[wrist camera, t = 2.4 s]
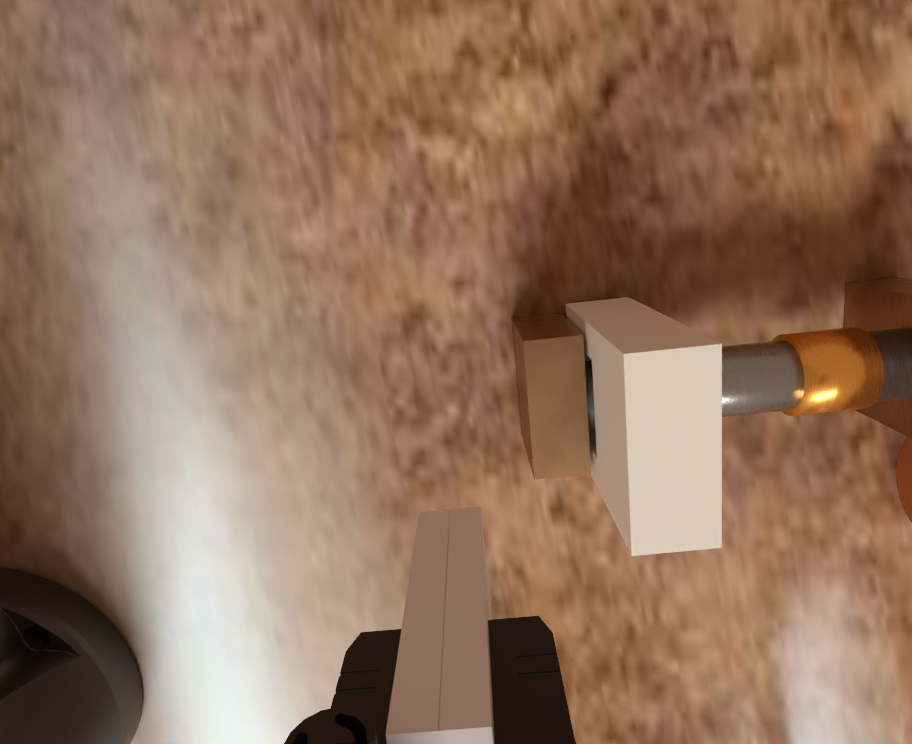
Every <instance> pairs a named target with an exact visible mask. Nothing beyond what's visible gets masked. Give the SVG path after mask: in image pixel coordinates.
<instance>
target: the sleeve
mask: <svg viewBox="0 0 912 744" xmlns="http://www.w3.org/2000/svg"><path fill="white" fill-rule="evenodd" d="M566 318H567V319H568V320H569V321H570V322H571V323H572V324H573V325H574V326H575V327H576V328H577V329H578V330H579V331H580V332H581V333H582V334H583V338H584V356H585V361H586V360H592V373H593V392H594V411H595V429H594V430H589V445H590V463H591V476H592V478H593V480H594V482H595V484H596V486H597V488H598V490H599V492H600V494H601V496H602V498H603V500H604V502H605V504H606V506H607V508H608V510H609V512H610V514H611V516H612V518H613V520H614V522H615V524H616V526H617V528H618V530H619V532H620V534H621V536H622V538H623V540H624V542H625V544H626V546H627V548H628V550H629V552H630V554H631V556H637V555H648V554H659V553H669V552H680V551H691V550H702V549H712V548H722V344H721V343H719V342H717V341H715V340H713V339H711V338H709V337H707V336H705V335H703V334H701V333H699V332H697V331H695V330H693V329H691V328H689V327H687V326H685V325H683V324H681V323H679V322H677V321H675V320H673V319H671V318H669V317H667V316H665V315H664V314H662V313H660V312H658V311H656V310H654V309H652V308H650V307H648V306H646V305H644V304H642V303H640V302H638V301H636V300H634V299H632V298H630V297H625V298H616V299H606V300H597V301H588V302H578V303H569V304H566Z"/></svg>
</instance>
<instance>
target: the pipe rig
mask: <svg viewBox="0 0 912 744" xmlns="http://www.w3.org/2000/svg"><path fill="white" fill-rule="evenodd" d="M512 329H513V340H514V352H515V364H516V375H517V387H518V399H519V410H520V422H521V434H522V437H523V441H524V444H525V448H526V452H527V455H528V459H529V462H530V466H531V469H532V473H533V476H534V479H544V478H554V477H565V476H575V475H585V474H591V463H590V445H589V430H594V429H595V411H594V392H593V373H592V360H586V361H585V356H584V338H583V334H582V333H581V332H580V331H579V330H578V329H577V328H576V327H575V326H574V325H573V324H572V323H571V322H570V321H569V320H568V319H567V318H566V317H565V316H564V315H563V314H562V313H555V314H546V315H537V316H527V317H518V318H512ZM845 410H856V411H858V412H860V413H862V414H864V415H866V416H868V417H870V418H872V419H874V420H876V421H878V422H880V423H882V424H884V425H886V426H888V427H890V428H892V429H894V430H896V431H898V432H900V433H902V434H904V435H906V436H908V437H910V438H912V280H910V279H904V278H887V279H878V280H868V281H859V282H849V283H846V288H845V307H844V326H843V328H840V329H830V330H821V331H811V332H801V333H792V334H782V335H778V336H776V337H775V338H774V339H773V340H772V341H771V342H761V343H751V344H742V345H732V346H722V417H725V416H735V415H745V414H755V413H765V412H775V411H782V412H783V413H784V414H786V415H789V416H795V415H805V414H815V413H825V412H835V411H845Z"/></svg>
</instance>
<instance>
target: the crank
mask: <svg viewBox="0 0 912 744" xmlns="http://www.w3.org/2000/svg"><path fill="white" fill-rule="evenodd" d="M896 478H897V487H898V492H899V497H900V500H901V503H902V506H903V508H904V510H905V512H906V514H907V516H908V518H909V519H910V521H911V522H912V438H910V437H908V436H907V438H906V440H905V443H904V445H903V447H902V449H901V452H900V454H899V456H898V458H897V467H896Z"/></svg>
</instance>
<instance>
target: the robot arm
mask: <svg viewBox="0 0 912 744" xmlns="http://www.w3.org/2000/svg"><path fill="white" fill-rule="evenodd" d="M340 674H341V675H340V677H339V679H338V683H337V687H336V694H334V698H333V702H332V705H331V709H327V710H323V711H320V712H318V713H316V714H314V715H312V716H310V717H308V718H307V719H305V720H303V721H302V722H301V723H300V724H299V725H298V726H297V727H296V728H295V729H294V730H293V731H292V732H291V733H290V734H289V736H288V738H287V740H286V742H285V743H284V744H576V742H575V739H574V734H573V729H572V725H571V720H570V715H569V710H568V705H567V700H566V695H565V691H564V686H563V681H562V676H561V672H560V666H559V662H558V657H557V652H556V647H555V642H554V637H553V633H552V631H551V630H550V629H549V628H548V627H547V626H546V624H545V623H544V622H543V621H542V620H541V618H540V617H539V616H531V617H519V618H507V619H495V620H492V615H491V601H490V592H489V583H488V573H487V564H486V554H485V545H484V536H483V526H482V517H481V508H480V507H475V508H464V509H453V510H442V511H431V512H420V513H419V517H418V524H417V531H416V537H415V544H414V550H413V557H412V564H411V570H410V577H409V583H408V590H407V596H406V603H405V610H404V616H403V623H402V629H397V630H385V631H373V632H361V633H360V635H359V636H358V637H357V638H356V640H355V641H354V642H353V643H352V645H351V646H350V647H349V648H348V650H347V651H346V654H345V657H344V661H343V665H342V668H341V672H340ZM141 712H142V687H141V681H140V676H139V672H138V669H137V666H136V664H135V661H134V659H133V656H132V655H131V653H130V651H129V649H128V647H127V645H126V644H125V642H124V640H123V639H122V638H121V636H120V635H119V633H118V632H117V631H116V630H115V628H114V627H113V626H112V625H111V624H110V623H109V622H108V620H107V619H106V618H105V617H104V616H103V615H101V614H100V613H99V612H98V611H97V610H96V609H95V608H94V607H92V606H91V605H90V604H89V603H87V602H86V601H84V600H83V599H82V598H80V597H79V596H77V595H75V594H74V593H72V592H71V591H69V590H67V589H65V588H63V587H61V586H59V585H57V584H55V583H53V582H50V581H48V580H45V579H43V578H40V577H37V576H34V575H31V574H27V573H23V572H19V571H14V570H8V569H1V568H0V744H130V743H131V741H132V739H133V737H134V735H135V733H136V730H137V728H138V725H139V722H140V717H141Z"/></svg>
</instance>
